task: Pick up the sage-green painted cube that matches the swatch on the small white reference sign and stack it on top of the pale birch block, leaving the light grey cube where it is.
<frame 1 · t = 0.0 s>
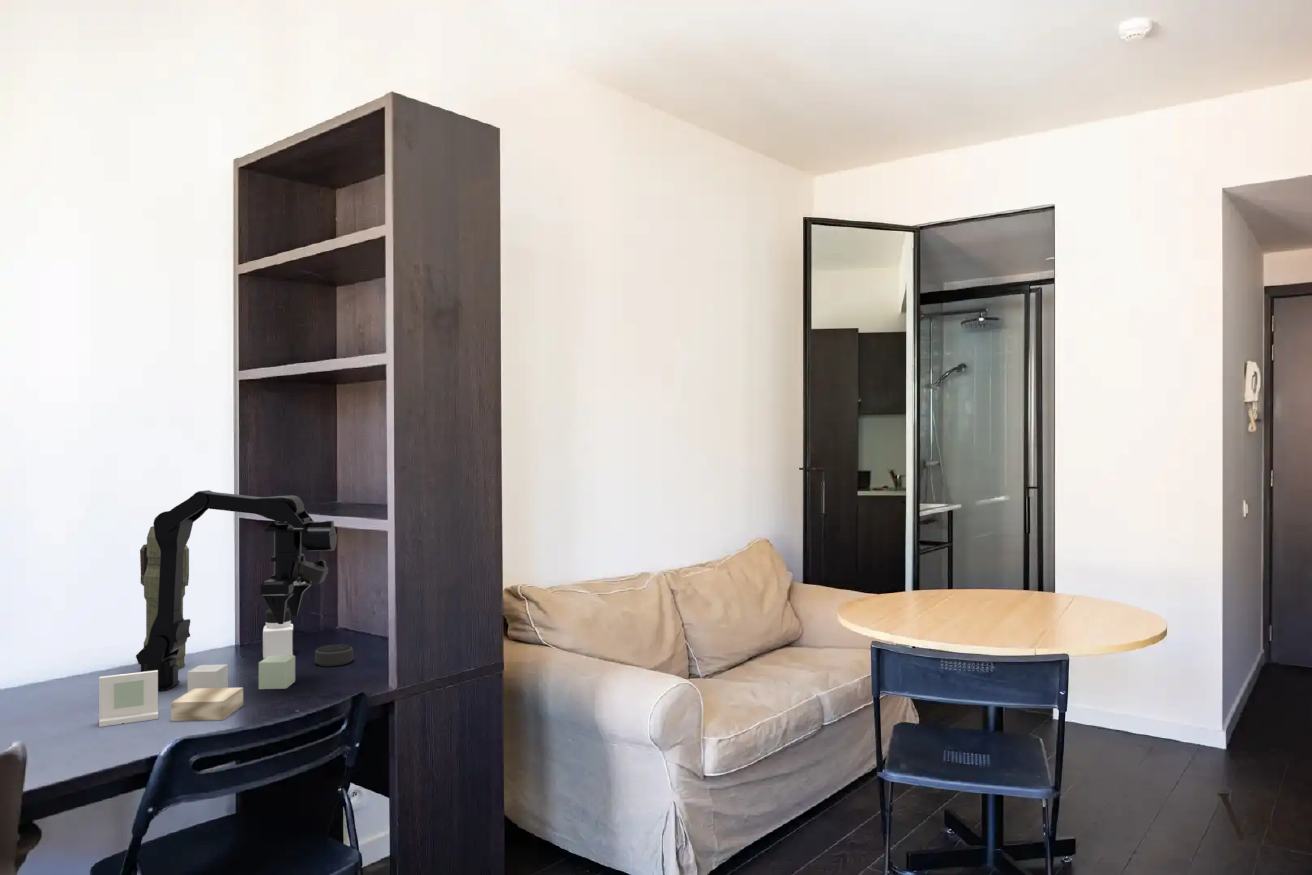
hand: (287, 619, 203), 15 cm above the table, fingers open, 9 cm apart
birch block: (208, 714, 182), on the table
grey cube: (208, 695, 195), on the table
sage cube: (277, 685, 203), on the table
smart speaker: (334, 664, 223), on the table
reference sign: (129, 719, 178), on the table
medicine bottle: (278, 655, 232), on the table
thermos: (164, 668, 219), on the table
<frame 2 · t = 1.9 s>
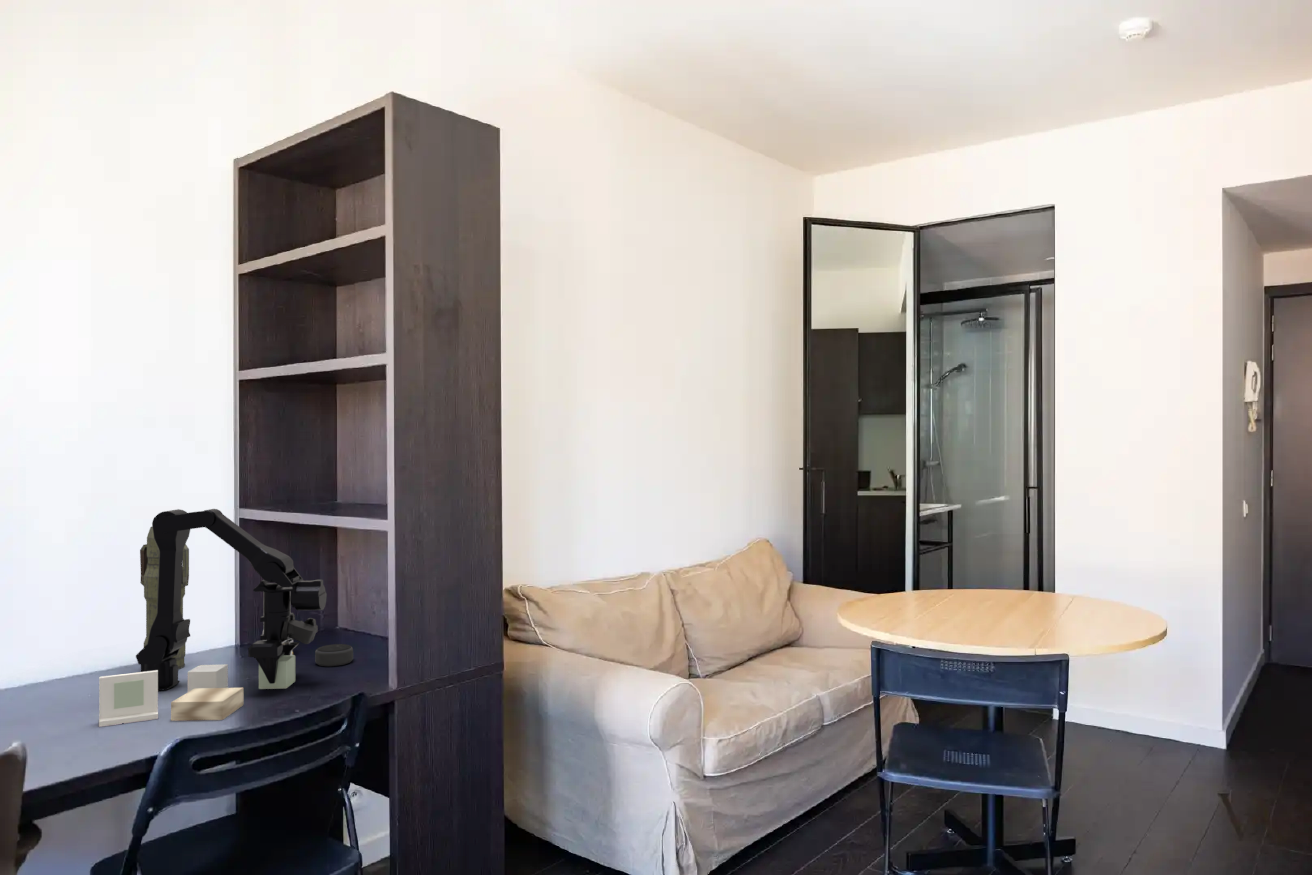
hand: (277, 679, 203), 1 cm above the table, fingers closed on sage cube, 6 cm apart
sage cube: (277, 685, 203), on the table, touching gripper
everything else where it was.
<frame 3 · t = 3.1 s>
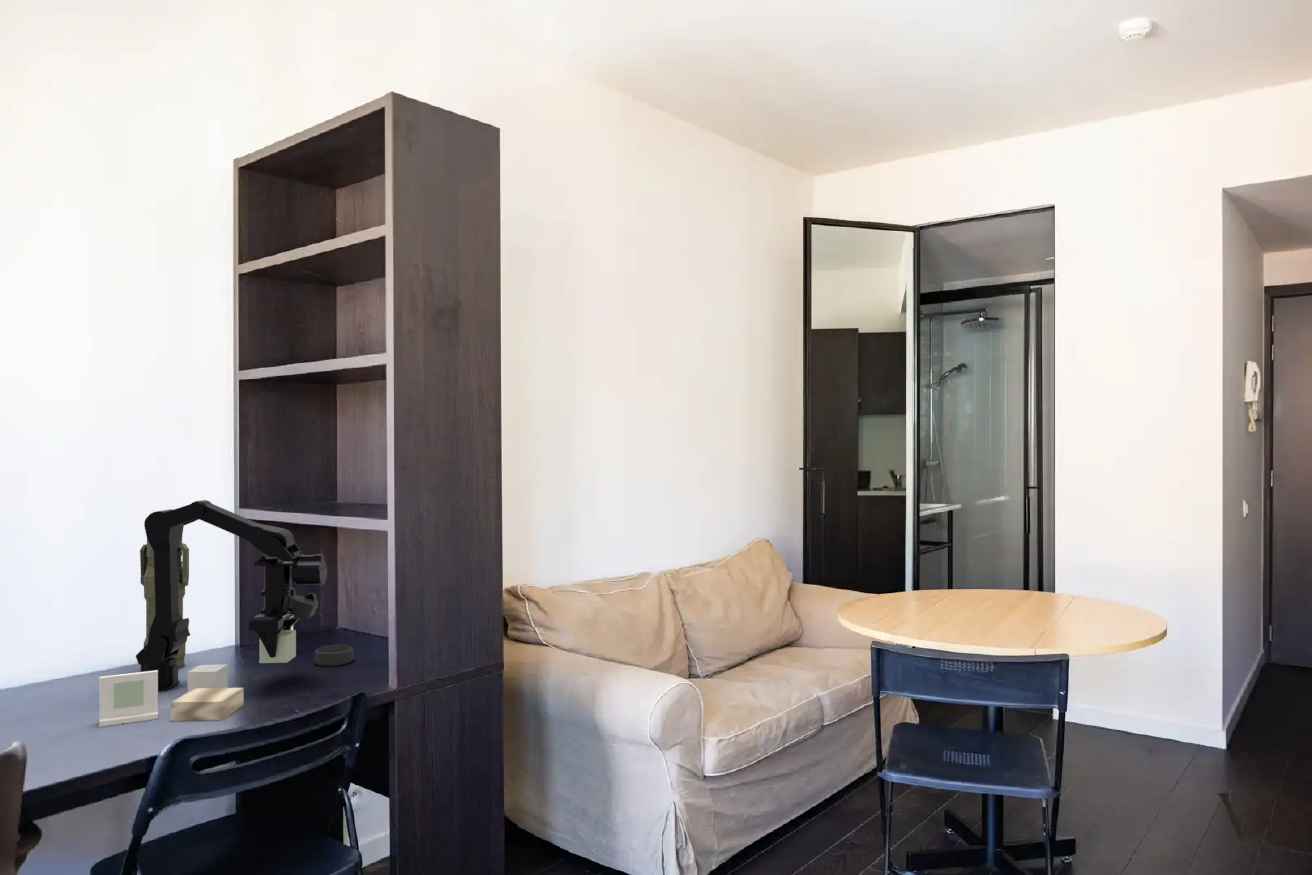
hand: (277, 653, 203), 7 cm above the table, fingers closed on sage cube, 6 cm apart
sage cube: (277, 659, 203), point 6 cm above the table, touching gripper
everything else where it was.
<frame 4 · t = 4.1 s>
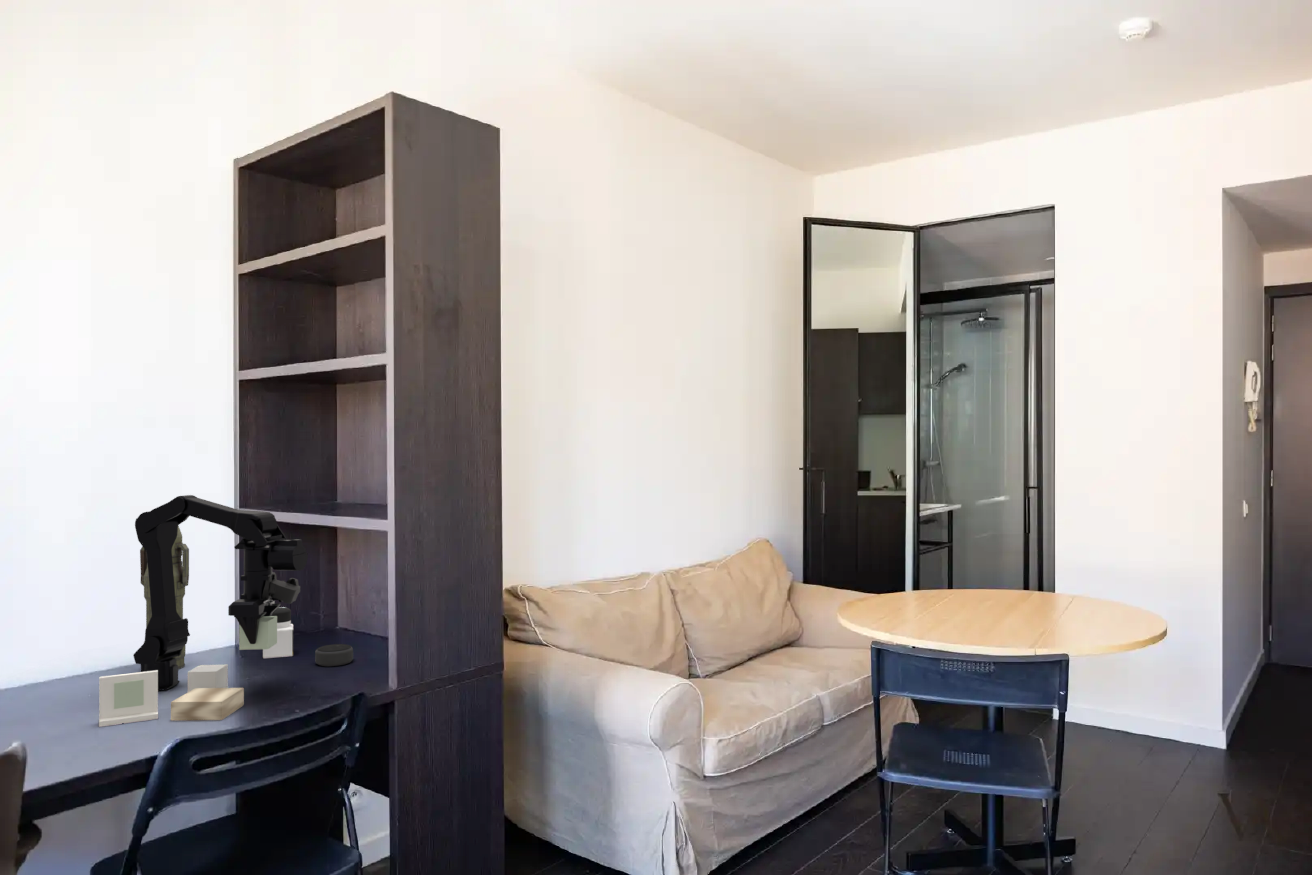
hand: (258, 640, 197), 11 cm above the table, fingers closed on sage cube, 6 cm apart
sage cube: (258, 646, 197), point 10 cm above the table, touching gripper
everything else where it was.
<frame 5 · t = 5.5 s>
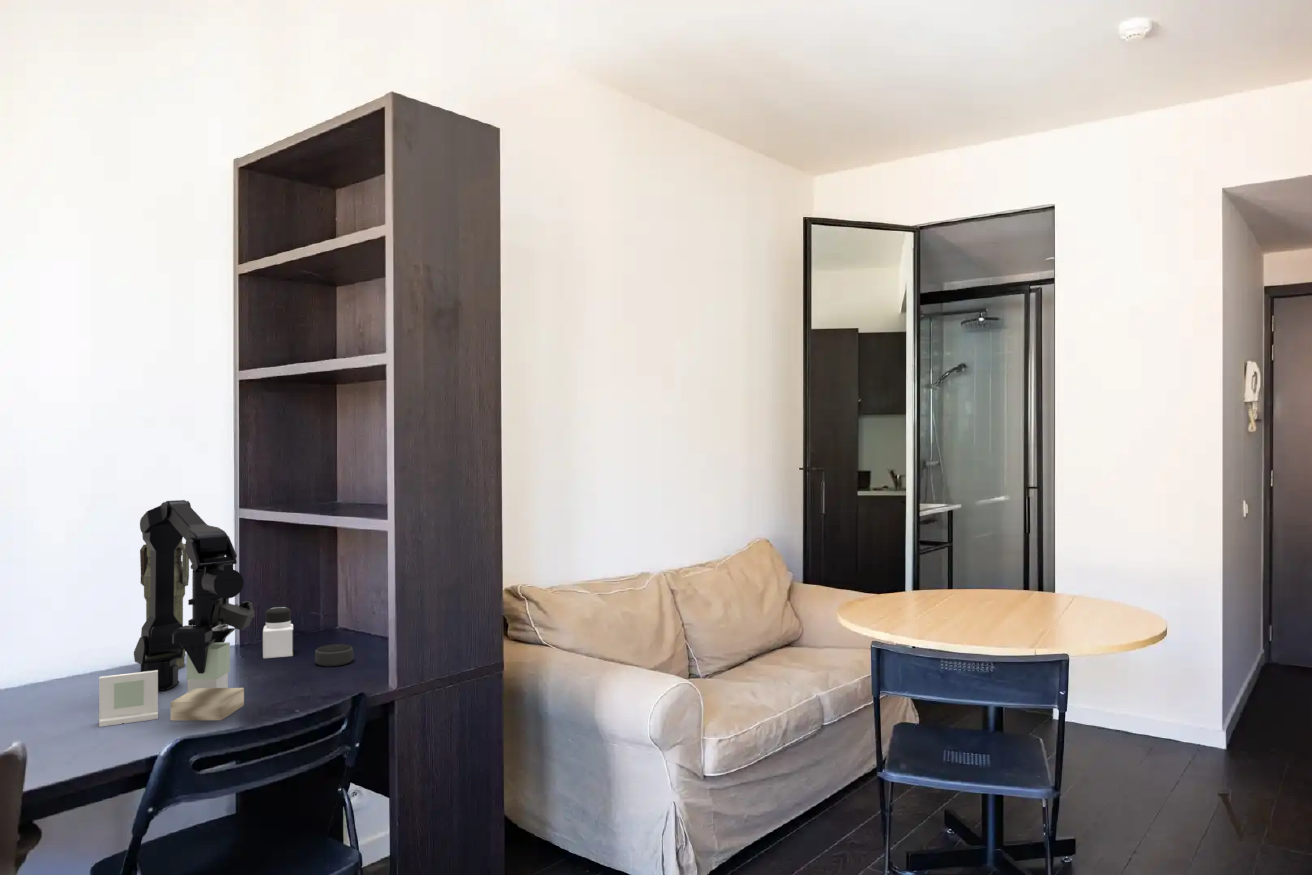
hand: (208, 669, 183), 9 cm above the table, fingers closed on sage cube, 6 cm apart
sage cube: (208, 675, 183), point 8 cm above the table, touching gripper
everything else where it was.
when the fingers open (7 cm above the table, at t = 6.3 s): sage cube drops 2 cm, point 4 cm above the table.
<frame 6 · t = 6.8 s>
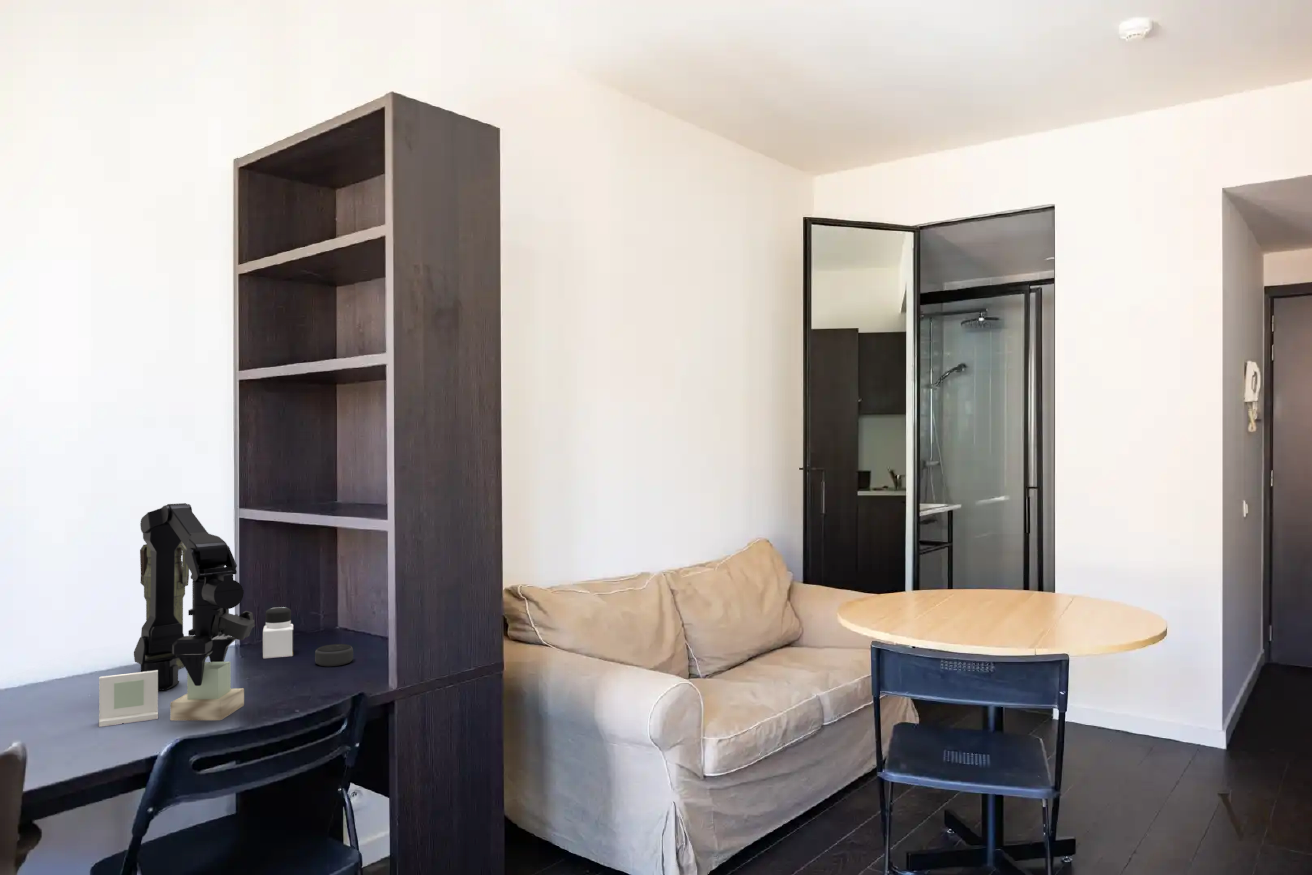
hand: (208, 679, 182), 7 cm above the table, fingers open, 9 cm apart
sage cube: (209, 694, 183), point 4 cm above the table
everything else where it was.
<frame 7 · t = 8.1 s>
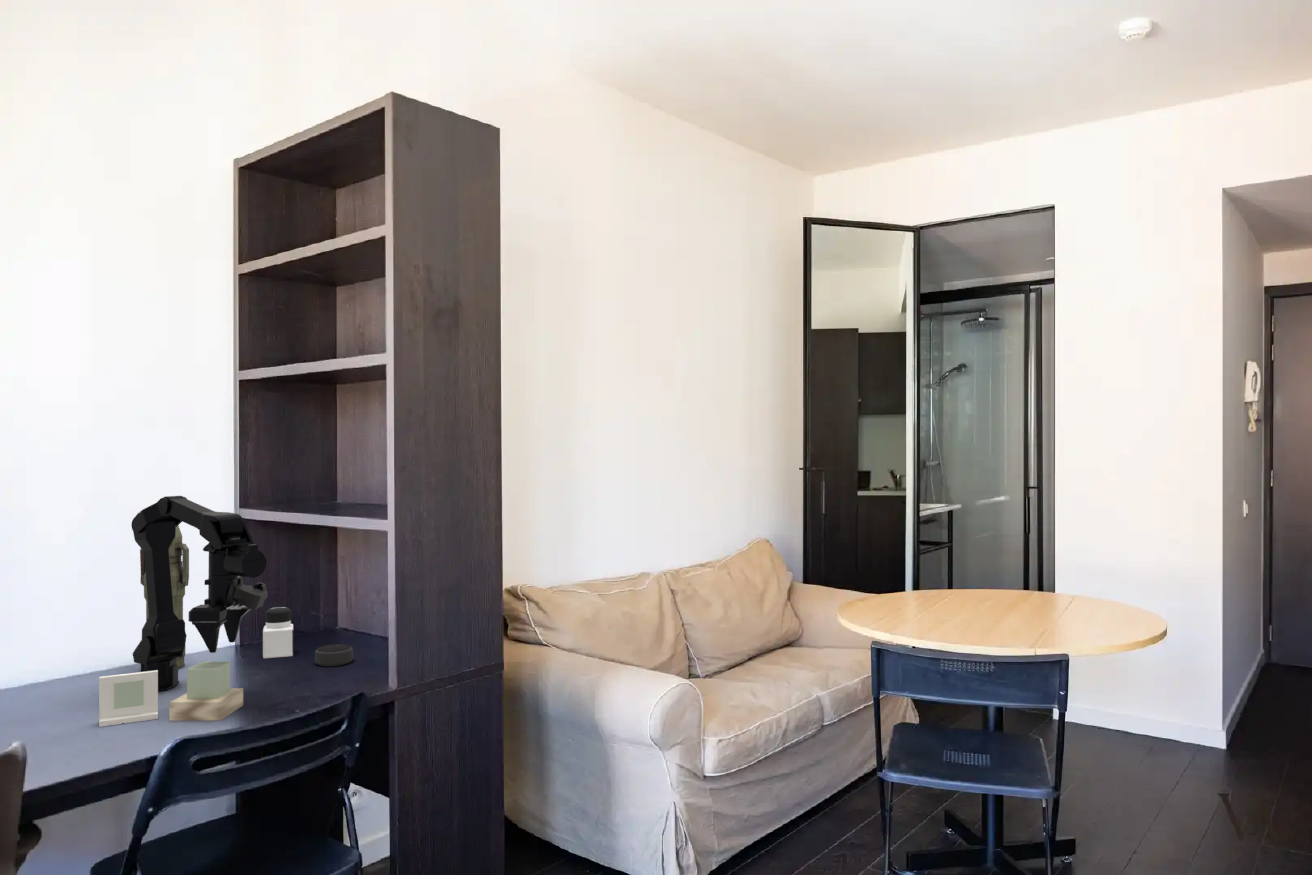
hand: (222, 647, 190), 12 cm above the table, fingers open, 9 cm apart
birch block: (207, 714, 182), on the table, touching sage cube
sage cube: (208, 694, 182), point 4 cm above the table, touching birch block
everything else where it was.
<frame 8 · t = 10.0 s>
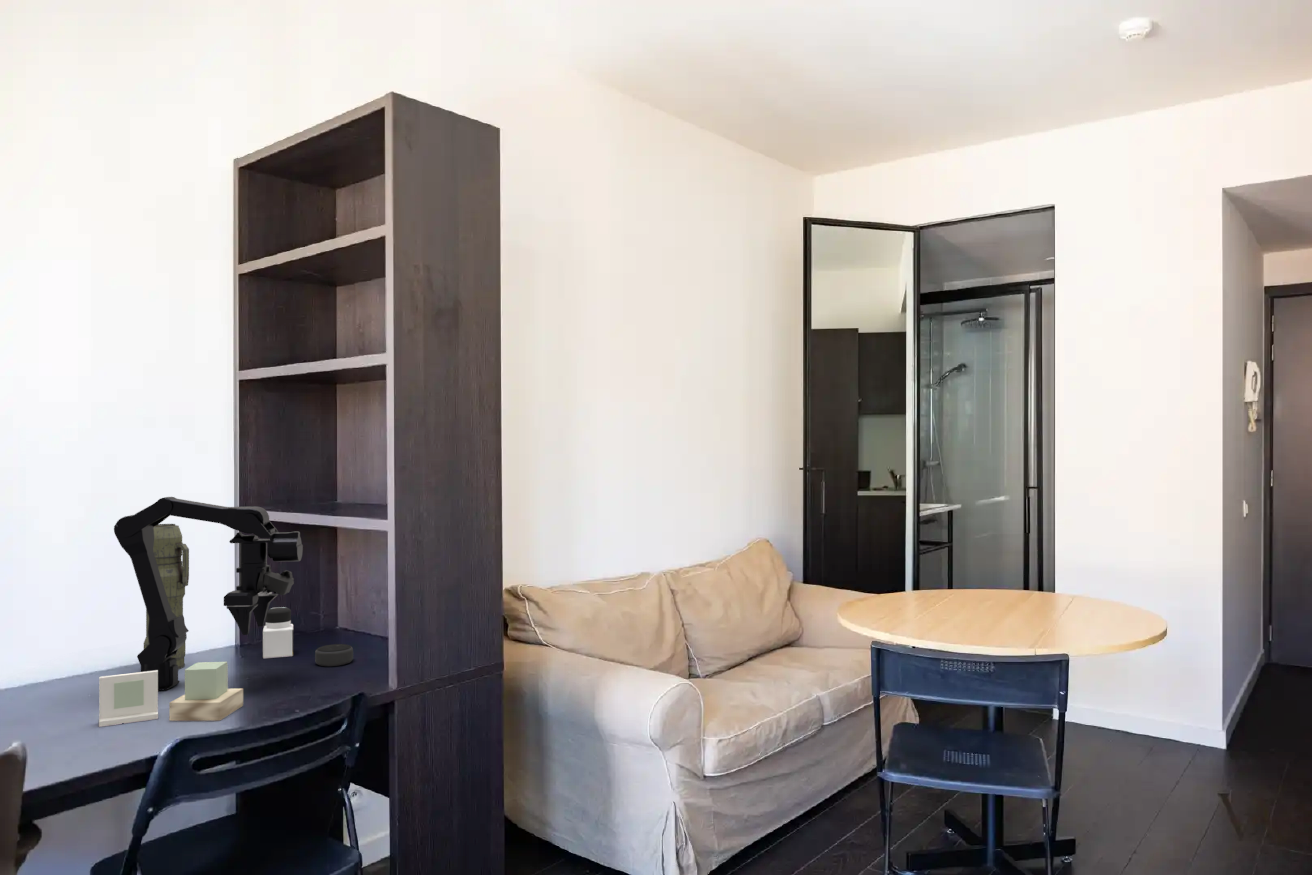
hand: (253, 630, 205), 12 cm above the table, fingers open, 9 cm apart
nothing on the table moved.
at the end: sage cube 0.3 cm off-centre on the birch block, point 4.0 cm above the birch block's base; sage cube tilted 1°; grey cube moved 0.1 cm from its start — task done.
